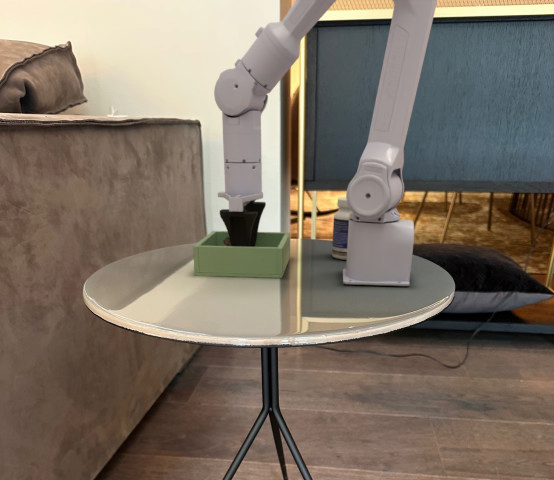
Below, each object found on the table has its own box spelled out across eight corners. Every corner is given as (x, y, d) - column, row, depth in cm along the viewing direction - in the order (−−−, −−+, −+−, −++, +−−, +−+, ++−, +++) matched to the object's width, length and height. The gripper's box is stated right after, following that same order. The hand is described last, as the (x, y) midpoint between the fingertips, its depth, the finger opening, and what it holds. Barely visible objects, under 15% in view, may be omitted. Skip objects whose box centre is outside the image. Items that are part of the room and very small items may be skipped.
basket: (289, 258, 92) (289, 232, 90) (282, 278, 79) (282, 248, 78) (213, 256, 93) (212, 230, 91) (194, 275, 81) (192, 246, 79)
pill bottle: (356, 262, 89) (360, 201, 85) (326, 258, 92) (328, 199, 88) (369, 256, 94) (373, 198, 90) (340, 252, 96) (343, 196, 92)
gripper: (226, 159, 87) (229, 242, 92) (206, 164, 73) (211, 260, 79) (268, 160, 86) (268, 243, 91) (255, 165, 73) (257, 262, 78)
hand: (245, 251), depth 85 cm, fingers open, 7 cm apart
